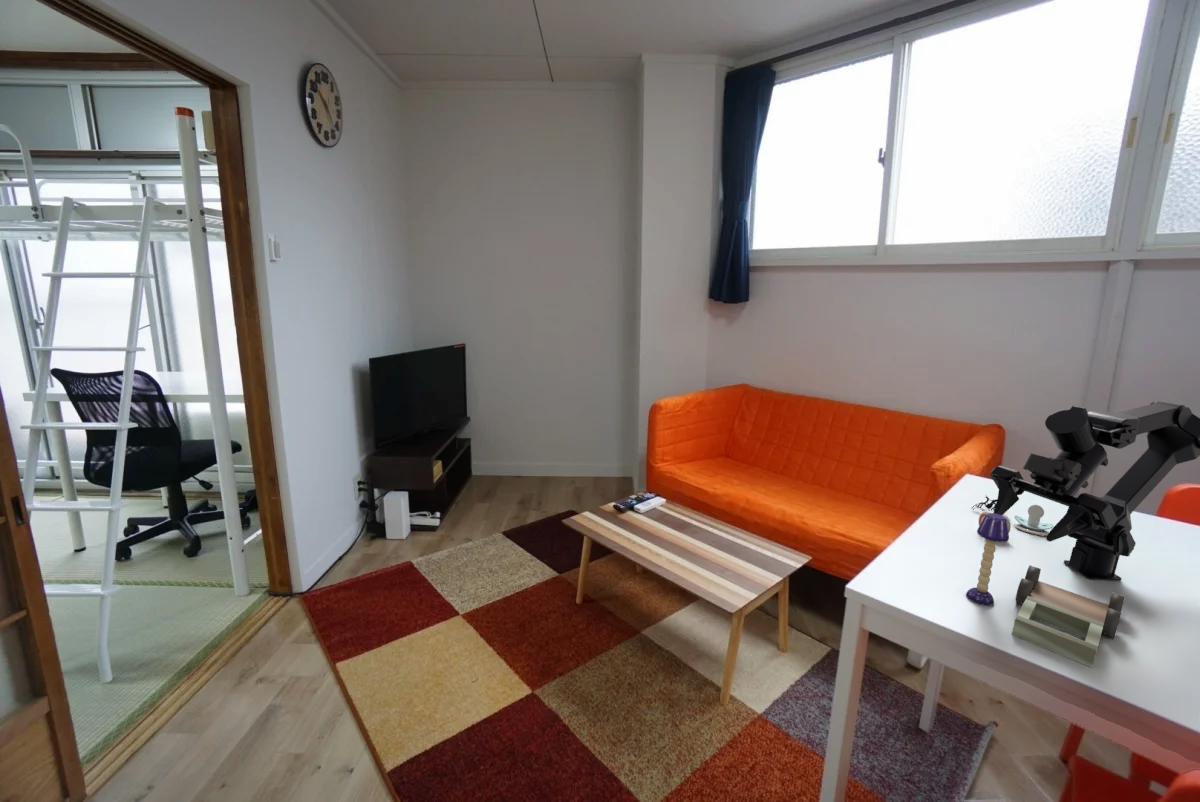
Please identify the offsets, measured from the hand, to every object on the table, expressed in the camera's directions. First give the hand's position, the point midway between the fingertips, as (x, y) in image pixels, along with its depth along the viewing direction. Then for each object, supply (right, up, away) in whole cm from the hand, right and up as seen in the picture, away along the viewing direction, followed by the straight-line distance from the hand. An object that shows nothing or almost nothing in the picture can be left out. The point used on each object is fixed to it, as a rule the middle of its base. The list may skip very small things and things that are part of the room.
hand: (1019, 528), depth 96 cm
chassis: (+3, -15, -6) cm, 16 cm away
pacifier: (+26, -8, +29) cm, 40 cm away
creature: (+23, -6, +38) cm, 45 cm away
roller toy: (+15, -8, +26) cm, 31 cm away
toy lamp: (-7, -14, +1) cm, 15 cm away
